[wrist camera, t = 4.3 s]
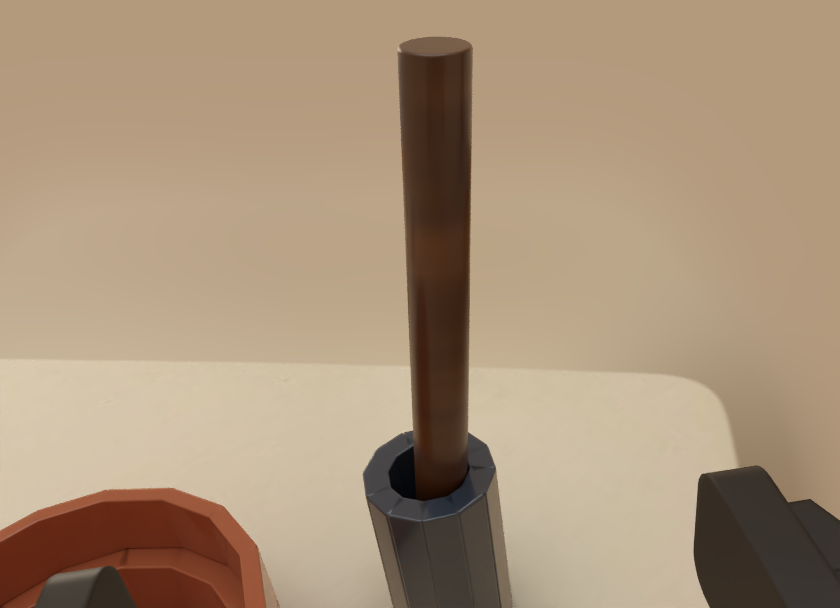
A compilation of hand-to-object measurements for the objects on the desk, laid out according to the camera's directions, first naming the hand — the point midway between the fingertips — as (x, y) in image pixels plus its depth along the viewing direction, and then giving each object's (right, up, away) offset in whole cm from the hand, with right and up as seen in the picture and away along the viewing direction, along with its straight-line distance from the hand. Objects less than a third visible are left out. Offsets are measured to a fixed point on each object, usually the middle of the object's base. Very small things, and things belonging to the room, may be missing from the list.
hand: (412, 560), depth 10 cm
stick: (+1, -7, +16) cm, 17 cm away
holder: (+1, -7, +16) cm, 18 cm away
